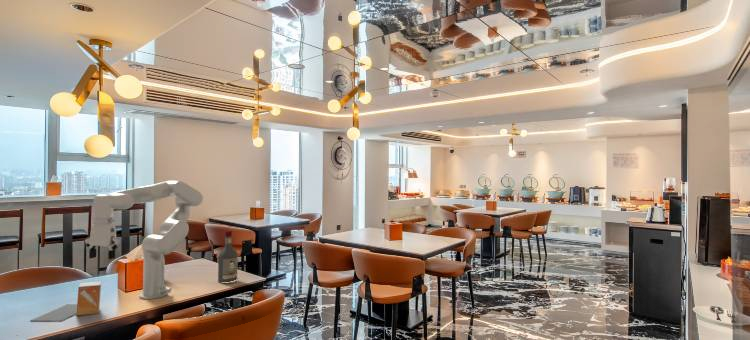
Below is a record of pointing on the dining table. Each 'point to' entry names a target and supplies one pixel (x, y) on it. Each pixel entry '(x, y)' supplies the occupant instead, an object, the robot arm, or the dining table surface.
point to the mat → (59, 313)
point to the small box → (88, 298)
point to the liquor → (227, 261)
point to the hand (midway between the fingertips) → (102, 258)
